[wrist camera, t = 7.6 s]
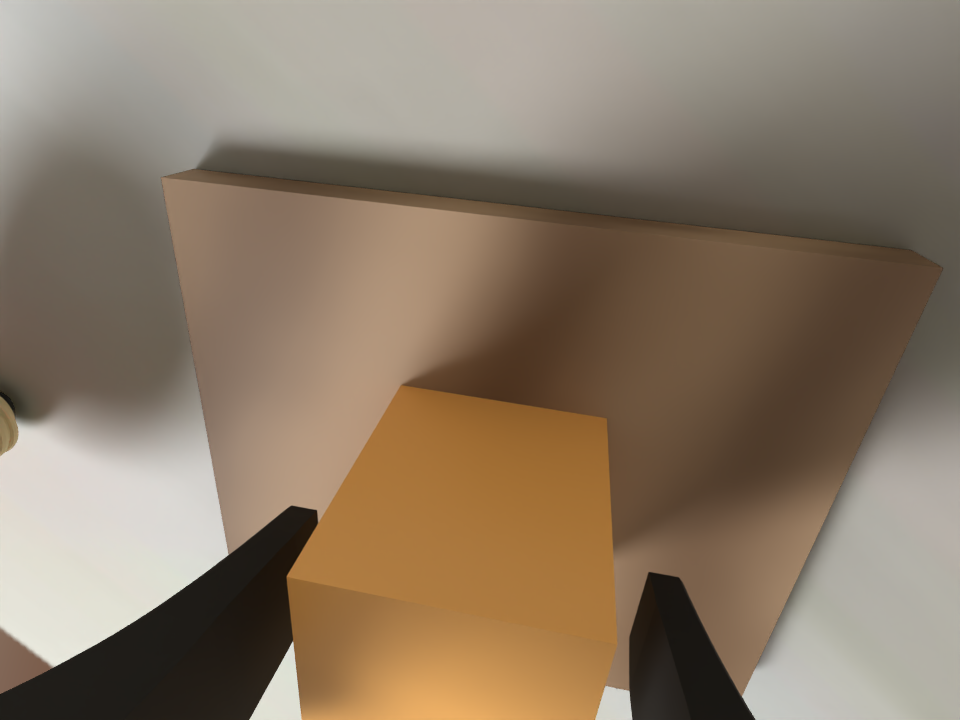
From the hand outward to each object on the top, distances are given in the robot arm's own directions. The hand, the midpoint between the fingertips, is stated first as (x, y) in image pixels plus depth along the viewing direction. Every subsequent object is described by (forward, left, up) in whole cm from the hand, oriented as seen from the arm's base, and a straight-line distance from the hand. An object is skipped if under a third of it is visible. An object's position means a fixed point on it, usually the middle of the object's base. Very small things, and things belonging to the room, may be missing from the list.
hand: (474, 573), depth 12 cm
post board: (0, 0, -4) cm, 4 cm away
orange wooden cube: (0, 0, -3) cm, 3 cm away
